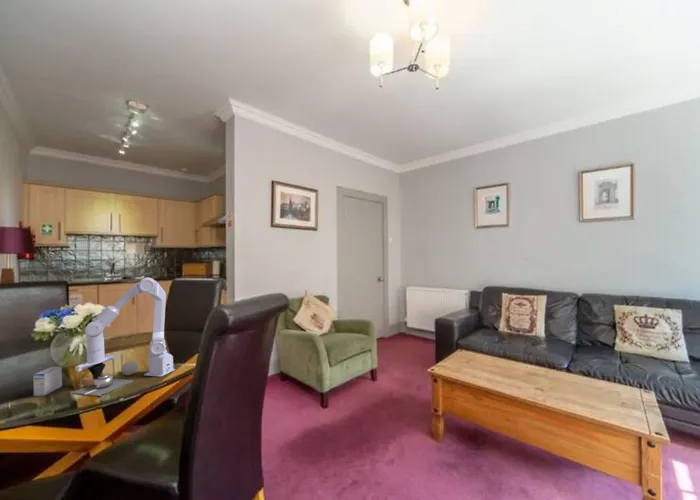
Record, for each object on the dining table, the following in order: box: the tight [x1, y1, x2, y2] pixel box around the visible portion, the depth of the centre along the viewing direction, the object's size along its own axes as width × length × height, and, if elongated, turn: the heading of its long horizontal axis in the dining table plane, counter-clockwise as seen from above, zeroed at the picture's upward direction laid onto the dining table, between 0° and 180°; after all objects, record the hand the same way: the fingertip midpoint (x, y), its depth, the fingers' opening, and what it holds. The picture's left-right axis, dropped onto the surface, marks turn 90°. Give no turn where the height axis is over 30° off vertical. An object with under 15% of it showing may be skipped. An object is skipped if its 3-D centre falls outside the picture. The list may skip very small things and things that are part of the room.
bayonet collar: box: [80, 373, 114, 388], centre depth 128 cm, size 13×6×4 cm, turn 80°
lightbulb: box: [121, 360, 139, 376], centre depth 142 cm, size 6×6×11 cm
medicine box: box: [32, 366, 63, 397], centre depth 125 cm, size 8×4×9 cm, turn 5°
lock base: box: [71, 378, 134, 397], centre depth 127 cm, size 14×14×1 cm
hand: (96, 382), depth 129 cm, fingers closed, pressing on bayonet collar
